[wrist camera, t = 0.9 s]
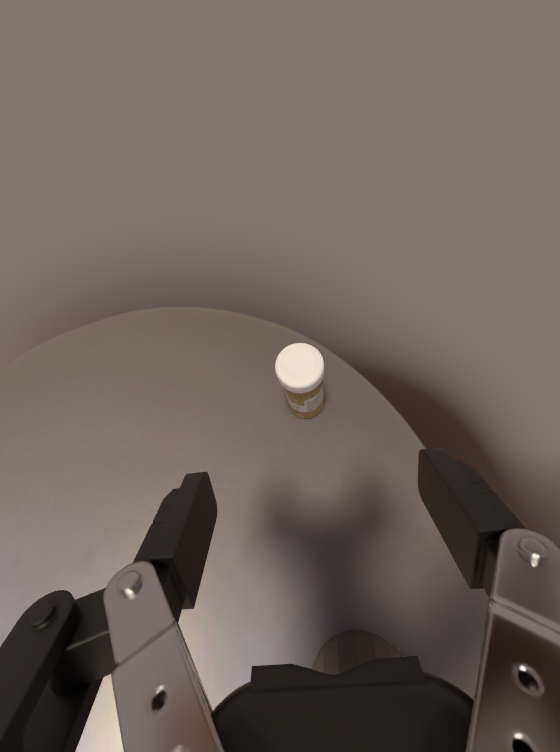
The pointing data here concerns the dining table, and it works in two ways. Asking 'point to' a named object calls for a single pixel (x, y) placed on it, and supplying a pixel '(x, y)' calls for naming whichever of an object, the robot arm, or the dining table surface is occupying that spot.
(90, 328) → the dining table surface
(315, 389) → the sprinkles bottle
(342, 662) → the dark gray cylindrical container
